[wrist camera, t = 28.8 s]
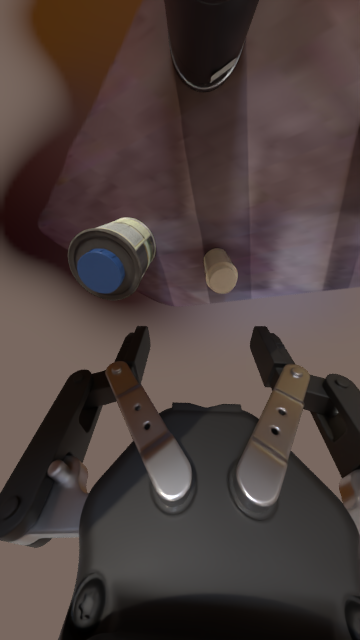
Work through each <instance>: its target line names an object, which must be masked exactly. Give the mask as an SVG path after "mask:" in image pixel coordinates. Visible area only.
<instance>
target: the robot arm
mask: <svg viewBox="0 0 360 640" xmlns="http://www.w3.org/2000/svg"><path fill="white" fill-rule="evenodd" d="M164 2H165V9H166V17H167V25H168V37H169V45H170V51H171V56H172V60H173V63H174V66H175V68H176V71H177V73H178V74H179V76H180V78H181V79H182V80H183V82H184V83H185V84H186V85H187V86H188V87H190V88H191V89H193V90H195V91H199V92H208V91H212V90H214V89H216V88H218V87H219V86H221V85H222V84H223V83H224V82H225V81H226V80H227V79H228V77H229V76H230V75H231V73H232V72H233V70H234V68H235V66H236V64H237V62H238V60H239V57H240V55H241V52H242V49H243V46H244V42H245V38H246V35H247V33H248V30H249V27H250V24H251V21H252V19H253V16H254V13H255V10H256V7H257V4H258V2H259V0H164ZM250 349H251V352H252V355H253V357H254V360H255V362H256V365H257V368H258V370H259V373H260V376H261V378H262V381H263V383H264V386H265V387H271V388H272V393H271V395H270V398H269V400H268V402H267V404H266V406H265V408H264V410H263V412H262V415H261V416H260V419H258V418H257V417H255V416H254V415H252V414H250V413H248V412H246V411H243V410H242V409H241V405H238V404H221V405H217V406H213V407H209V408H205V407H201V406H198V405H194V404H191V403H173V404H172V408H169V409H166V410H164V411H162V412H161V413H158V412H157V410H156V409H155V407H154V405H153V403H152V402H151V400H150V398H149V397H148V395H147V393H146V392H145V390H144V388H143V387H142V385H141V381H142V376H143V373H144V369H145V366H146V362H147V358H148V354H149V350H150V337H149V331H148V327H147V326H137V328H136V330H135V333H130V334H128V335H127V337H126V338H125V340H124V342H123V344H122V347H121V349H120V351H119V353H118V355H117V358H116V360H115V362H114V363H112V364H110V365H109V366H108V367H107V369H106V370H105V371H102V372H98V373H94V374H91V372H90V371H89V370H79V371H77V372H75V373H73V374H72V375H71V376H70V377H69V378H68V379H67V381H66V383H65V385H64V386H63V388H62V390H61V391H60V393H59V395H58V396H57V398H56V400H55V401H54V403H53V405H52V407H51V408H50V410H49V412H48V413H47V415H46V417H45V418H44V420H43V422H42V423H41V425H40V427H39V429H38V430H37V432H36V434H35V435H34V437H33V439H32V441H31V442H30V444H29V445H28V447H27V449H26V451H25V452H24V454H23V456H22V457H21V459H20V461H19V462H18V464H17V466H16V468H15V469H14V471H13V473H12V474H11V476H10V478H9V480H8V481H7V483H6V484H5V486H4V488H3V490H2V492H1V493H0V540H1V541H6V542H11V543H16V544H20V545H25V546H30V547H34V548H37V547H41V546H43V545H45V544H46V543H47V542H49V541H50V540H51V538H56V537H57V538H60V537H79V546H80V549H79V565H78V573H77V579H76V584H75V589H74V593H73V597H72V600H71V603H70V606H69V609H68V612H67V615H66V618H65V621H64V624H63V627H62V630H61V633H60V636H59V639H58V640H360V391H359V389H358V388H357V387H356V386H355V384H354V383H353V382H352V381H350V380H349V379H348V378H346V377H344V376H341V375H338V374H329V375H328V376H327V377H326V379H324V378H320V377H317V376H313V375H310V374H309V373H308V371H307V370H306V369H304V368H303V367H301V366H299V365H296V364H295V363H294V361H293V360H292V358H291V356H290V355H289V353H288V352H287V350H286V349H285V347H284V345H283V344H282V342H281V340H280V339H279V337H277V336H276V335H275V334H274V333H270V332H269V330H268V329H267V327H265V326H255V327H254V330H253V333H252V338H251V341H250ZM116 401H117V403H118V406H119V408H120V410H121V413H122V415H123V417H124V420H125V422H126V424H127V427H128V429H129V431H130V434H131V436H132V439H133V442H132V443H131V444H130V445H129V446H128V447H127V449H126V450H125V451H124V452H123V453H122V454H121V455H120V456H119V458H118V459H117V460H116V461H115V462H114V463H113V464H112V465H111V466H110V468H109V469H108V470H107V471H106V472H105V473H104V475H102V477H101V478H100V479H99V480H98V481H97V482H96V484H95V485H94V486H93V488H92V489H91V491H90V493H87V490H86V483H87V478H88V471H87V468H86V467H85V466H84V465H83V464H82V462H83V460H84V457H85V454H86V451H87V448H88V445H89V443H90V440H91V437H92V434H93V431H94V429H95V426H96V423H97V420H98V417H99V414H100V412H101V409H102V406H103V405H106V404H109V403H112V402H116ZM303 409H305V410H309V411H310V412H311V414H312V416H313V418H314V420H315V422H316V425H317V427H318V429H319V431H320V433H321V435H322V437H323V439H324V441H325V443H326V445H327V448H328V449H329V452H330V454H331V456H332V458H333V460H334V462H335V464H336V466H337V468H338V470H339V472H340V474H341V477H342V479H341V481H340V483H339V490H340V493H341V496H342V501H343V503H342V502H341V501H340V500H339V499H338V497H337V496H336V495H335V494H334V493H333V492H332V491H331V490H330V489H329V488H328V487H327V486H326V485H325V484H324V483H323V482H322V481H321V480H320V479H319V478H318V477H317V476H316V475H315V474H314V473H313V472H312V471H311V470H309V468H307V466H306V465H305V464H304V463H303V462H302V461H301V460H300V459H299V458H298V457H297V456H295V454H294V453H293V452H292V451H291V447H292V444H293V441H294V437H295V434H296V431H297V427H298V424H299V421H300V417H301V414H302V411H303Z"/></svg>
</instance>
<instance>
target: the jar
mask: <svg viewBox="0 0 360 640" xmlns="http://www.w3.org/2000/svg"><path fill="white" fill-rule="evenodd" d="M203 266H204V272H205V278H206V283H207V285H208V287H209V288H210V289H212V290H213V291H214V292H216V293H220V294H225V293H228V292H230V291H231V290H232V289H233V288H234V287H235V285H236V282H237V278H238V272H237V269H236V268H235V266H234V264H233V262H232V261H231V259H230V257H229V256H228V254H227V253H226V252H225V251H224V250H223V249H220V248H215V249H212V250H210V251H208V252H207V253H206V255H205V256H204V259H203Z"/></svg>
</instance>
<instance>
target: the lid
mask: <svg viewBox="0 0 360 640" xmlns="http://www.w3.org/2000/svg"><path fill="white" fill-rule="evenodd" d="M77 270H78V274H79V277H80V278H81V280H82V281H83V283H84V284H85V285H86V286H87V287H88V288H90V289H91V290H93V291H95V292H98V293H111V292H113V291H115V290H116V289H117V288H118V287H119V286H120V285H121V284H122V281H123V279H124V276H125V271H124V267H123V264H122V262H121V261H120V259H119V258H118V257H117V256H116V255H115V254H113V253H112V252H110V251H108V250H105V249H92V250H90V251H89V252H87V253H86V254H84V255H83V256H82V257H81V258H80V259H79V261H78V265H77Z"/></svg>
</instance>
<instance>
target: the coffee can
mask: <svg viewBox="0 0 360 640" xmlns="http://www.w3.org/2000/svg"><path fill="white" fill-rule="evenodd" d="M92 249H105V250H108V251H110V252H112V253H113V254H115V255H116V256H117V257H118V258H119V259H120V261H121V262H122V264H123V267H124V271H125V276H124V279H123V281H122V284H121V285H120V286H119V287H118V288H117V289H116V290H115V291H113V292H111V293H98V292H95V291H93V290H91V289H90V288H88V287H87V286H86V285H85V284H84V283H83V281H82V280H81V278H80V277H79V274H78V270H77V265H78V261H79V259H80V258H81V257H82V256H83V255H84V254H86V253H87V252H89V251H90V250H92ZM155 251H156V245H155V240H154V237H153V235H152V233H151V231H150V230H149V229H148V228H147V227H146V226H145V225H144V224H143V223H142V222H140V221H138V220H136V219H133V218H121V219H118V220H116V221H114V222H111V223H108V224H106V225H103V226H100V227H97V228H93V229H88V230H85V231H82V232H80V233H79V234H77V235H76V236H75V237H74V238H73V240H72V241H71V243H70V246H69V249H68V262H69V266H70V269H71V272H72V274H73V276H74V277H75V279H76V280H77V282H78V283H79V284H80V285H81V286H82V287H83V288H84V289H86V290H87V291H88V292H89V293H91V294H93V295H94V296H97V297H99V298H102V299H107V300H121V299H124V298H126V297H128V296H130V295H131V294H132V293H134V292H135V290H136V289H137V287H138V286H139V283H140V281H141V279H142V277H143V275H144V273H145V272H146V270H147V268H148V266H149V265H150V263H151V262H152V260H153V258H154V256H155Z"/></svg>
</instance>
